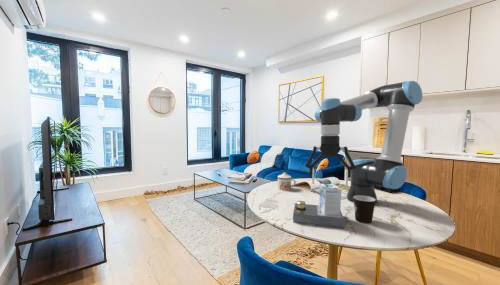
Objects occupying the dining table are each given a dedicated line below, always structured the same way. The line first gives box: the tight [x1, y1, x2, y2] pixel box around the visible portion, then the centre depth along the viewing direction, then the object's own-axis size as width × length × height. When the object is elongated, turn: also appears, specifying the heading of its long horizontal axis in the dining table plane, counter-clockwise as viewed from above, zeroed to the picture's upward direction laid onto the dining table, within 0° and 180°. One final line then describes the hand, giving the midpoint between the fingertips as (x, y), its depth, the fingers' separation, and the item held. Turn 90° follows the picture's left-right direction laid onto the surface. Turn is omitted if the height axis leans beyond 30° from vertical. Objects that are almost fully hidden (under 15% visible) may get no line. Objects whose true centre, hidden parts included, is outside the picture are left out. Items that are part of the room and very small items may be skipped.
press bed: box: [292, 202, 345, 229], centre depth 100 cm, size 20×14×4 cm
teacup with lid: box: [277, 172, 297, 191], centre depth 147 cm, size 12×9×12 cm
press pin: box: [296, 200, 306, 210], centre depth 102 cm, size 4×4×4 cm
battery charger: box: [374, 185, 401, 194], centre depth 148 cm, size 13×10×4 cm
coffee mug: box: [353, 195, 376, 225], centre depth 100 cm, size 12×9×10 cm
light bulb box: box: [318, 183, 342, 215], centre depth 99 cm, size 11×7×11 cm, turn 175°
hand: (329, 184), depth 98 cm, fingers open, 13 cm apart
